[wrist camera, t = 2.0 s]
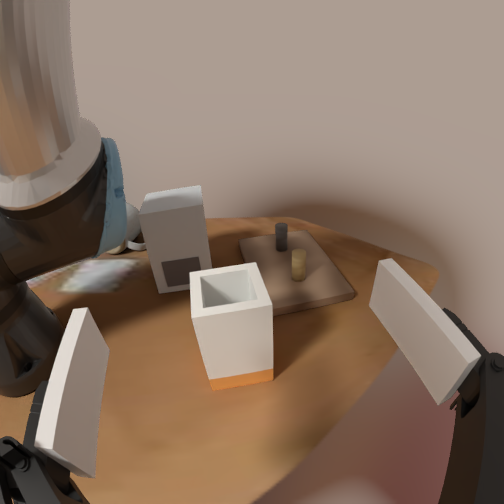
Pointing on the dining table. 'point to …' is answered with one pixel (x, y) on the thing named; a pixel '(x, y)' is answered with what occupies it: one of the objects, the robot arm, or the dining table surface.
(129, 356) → the dining table surface
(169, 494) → the dining table surface
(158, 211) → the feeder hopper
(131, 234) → the ceramic mug
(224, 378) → the sleeve
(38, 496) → the robot arm
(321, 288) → the pin board
